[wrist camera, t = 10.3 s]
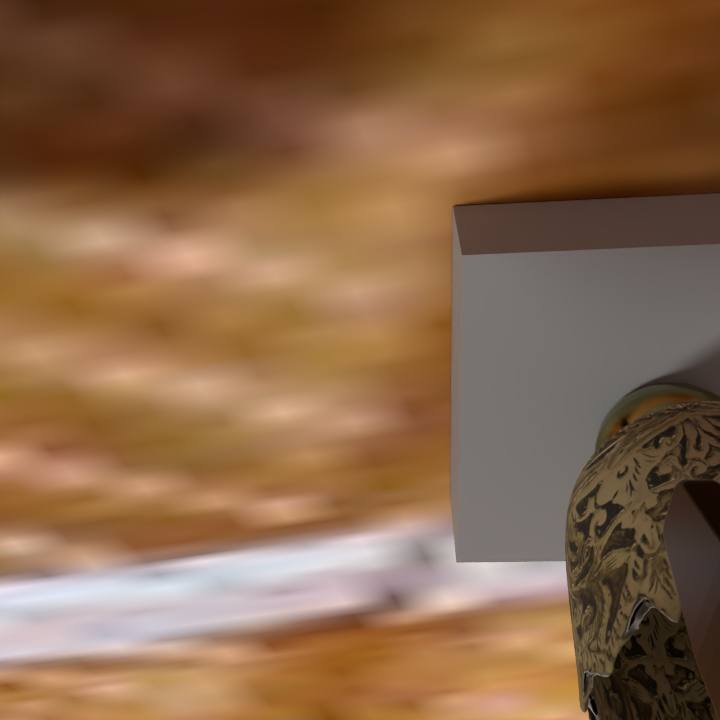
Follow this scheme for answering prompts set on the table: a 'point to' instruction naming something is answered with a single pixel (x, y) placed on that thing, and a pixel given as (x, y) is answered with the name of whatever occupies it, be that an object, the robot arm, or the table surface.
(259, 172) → the table surface
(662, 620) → the ornate bronze lamp shade
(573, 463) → the plinth
